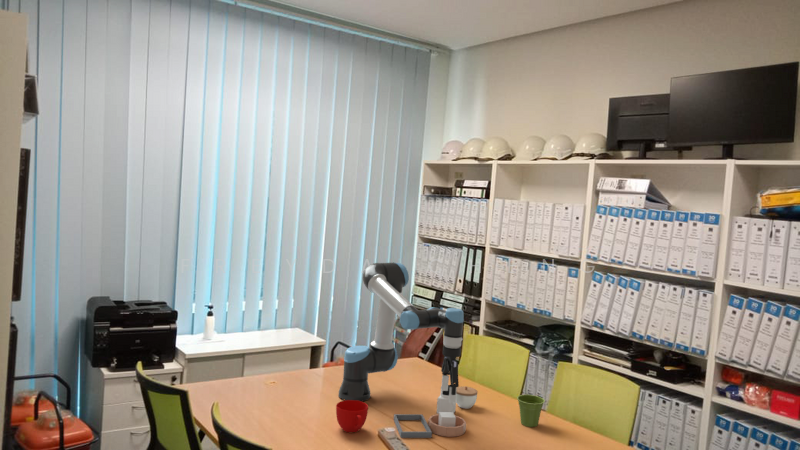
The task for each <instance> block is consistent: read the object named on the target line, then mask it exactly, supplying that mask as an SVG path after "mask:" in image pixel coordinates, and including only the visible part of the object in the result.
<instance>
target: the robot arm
mask: <svg viewBox="0 0 800 450" xmlns="http://www.w3.org/2000/svg"><path fill="white" fill-rule="evenodd" d="M409 279H410V278H409V271H408V269H407V267H406V266H405V265H404V264H403V263H401V262H374V263H371V264H369V265H368V266H366V268H365V269H364V271H363V274H362V282H363V284H364V287H365V288H366V289H367V290H368V291H369V293H370V292H371V293H373V294H376V295H377V297H378V298H379V302H378V310H377V316H376V317H377V318H376V325H375V331H374V332H375V334H374V340H372V341H371V342H370V346H367V345H353V346H350V347H348V348H347V349H346V350H345V351H344V356H343V357H344V358H343V374H342V375H343V376H342V383H341V385H340V387H339V390H338V398H339V397H340V398H339V399H341V398H342V399H341V400H343V399H345V400H356V401H361V402H365V400H366V401H368V400H370V399H369V398H371V389H370V385H369V381H368V379H369V378H368V377H369V374H374V373H382V372H383V373H384V372H387V371H391V370H393V369H394V368H395V367H396V365H397V364H398V356H399V355H398V352H397V349H396V348H395V345H394V343H393V342H392V341H393V334H394V327H395V320H396V315H397V316H398V317H399V323H400V324H401V328H403V330H418V329H428V328H440V329H442V330H444V332H443V339H442V340H443V341H442V343H443V345H442V355H443V362H442V365H441V370H440V371H441V374H442V376H441V386H440V392H441V391H448V385H449V387H450V391H449V402H456V391H457V387H460V385H459V361H457V358H459V357H461V355H462V354H461V353H462V341H463V340H464V338H463V332H464V331H463V330H464V329H463V327H464V321H465V319H464V318H465V317H464V310H463V309H461V308H456V307H448V308H446V310H444V309H441V308H439V307H434V306H433V307H429V308H427V309H420V310H419V309H417V307H415V306H414V305H413V304H412V303H411V302H410V301H409V300H408V299H406V297H405V296H403V295H402V292H403V288H404V287H407V285H408V284H409V281H410V280H409ZM449 381H450V384H449ZM345 400H344V401H345Z"/></svg>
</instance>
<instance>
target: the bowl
mask: <svg viewBox="0 0 800 450" xmlns="http://www.w3.org/2000/svg"><path fill="white" fill-rule="evenodd" d="M455 417H456V422H455V427H445V426H440V425H438V421H439V414H438V413H436V414H433V415H431V416H429V418H428V419H427V424H428V426H429V428H430V430H431V432H432V434H435V435H437V436H441V437H449V438H452V437H453V438H454V437H460V436H463V435H464V434H465V432H466V429H467V422H466V420H465V419H464V418H463V417H460V416H458V415H455Z"/></svg>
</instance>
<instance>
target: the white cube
mask: <svg viewBox="0 0 800 450" xmlns="http://www.w3.org/2000/svg"><path fill="white" fill-rule="evenodd" d="M455 416H456V415H455V412H454V413H453V412H439V421H438V425H440V426H445V427H455V422H456V417H455Z"/></svg>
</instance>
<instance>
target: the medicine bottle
mask: <svg viewBox="0 0 800 450" xmlns="http://www.w3.org/2000/svg"><path fill="white" fill-rule="evenodd" d="M449 385H450V384H448V391H441V390H440V395H439V396H438V397H437V399H436V400H437V402H436V414H439V412H453V413H454V414H455V412H456V410H457V409H456V407H457V403H456V402H449V391H450V387H449Z"/></svg>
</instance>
